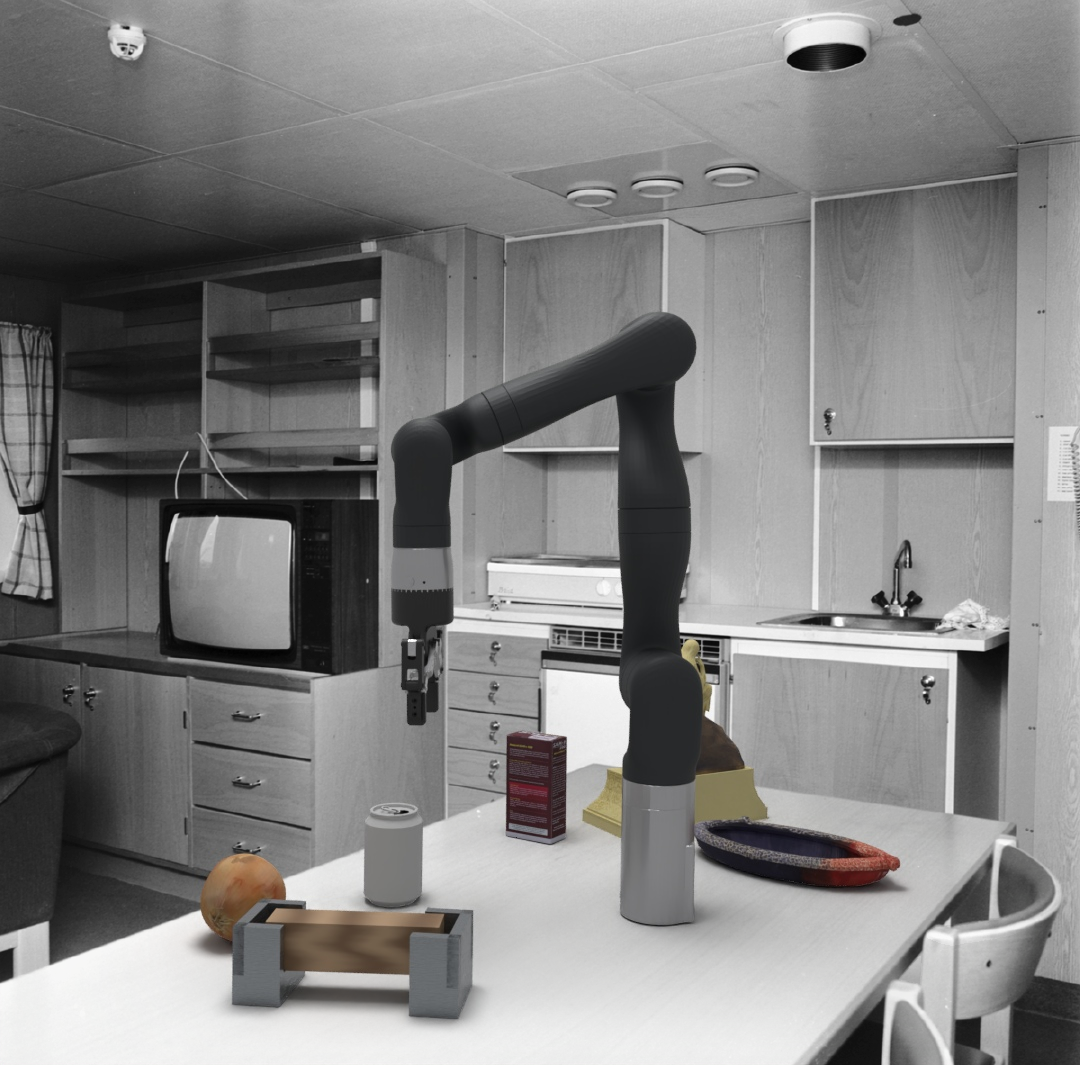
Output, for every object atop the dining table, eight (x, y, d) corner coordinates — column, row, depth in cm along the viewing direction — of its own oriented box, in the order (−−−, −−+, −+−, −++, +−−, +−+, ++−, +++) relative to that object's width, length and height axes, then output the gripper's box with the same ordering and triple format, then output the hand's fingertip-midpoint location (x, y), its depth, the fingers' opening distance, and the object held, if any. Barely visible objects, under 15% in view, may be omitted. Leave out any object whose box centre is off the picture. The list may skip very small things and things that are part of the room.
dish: (721, 838, 181) (722, 806, 181) (915, 880, 162) (916, 844, 162) (669, 861, 169) (669, 827, 169) (872, 909, 150) (873, 871, 150)
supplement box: (567, 838, 179) (569, 735, 179) (550, 845, 175) (552, 741, 175) (520, 829, 184) (522, 729, 183) (503, 836, 180) (505, 734, 179)
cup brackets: (472, 984, 124) (473, 910, 124) (458, 1018, 116) (459, 939, 115) (260, 971, 127) (261, 898, 126) (232, 1004, 118) (232, 926, 118)
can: (411, 911, 146) (412, 817, 146) (355, 906, 147) (356, 813, 147) (429, 892, 153) (430, 802, 153) (375, 887, 155) (376, 798, 154)
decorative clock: (717, 801, 203) (721, 631, 203) (767, 819, 192) (770, 638, 191) (582, 821, 189) (585, 638, 188) (627, 842, 178) (630, 647, 177)
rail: (443, 960, 123) (444, 913, 123) (438, 976, 119) (439, 927, 119) (275, 955, 124) (276, 908, 123) (265, 970, 120) (265, 922, 119)
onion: (299, 927, 140) (300, 845, 140) (263, 959, 130) (264, 870, 130) (225, 920, 142) (226, 839, 142) (184, 951, 132) (185, 863, 132)
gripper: (443, 589, 133) (444, 730, 133) (462, 580, 147) (463, 708, 147) (378, 589, 133) (379, 729, 134) (403, 580, 148) (404, 707, 148)
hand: (423, 718), depth 141 cm, fingers open, 8 cm apart
